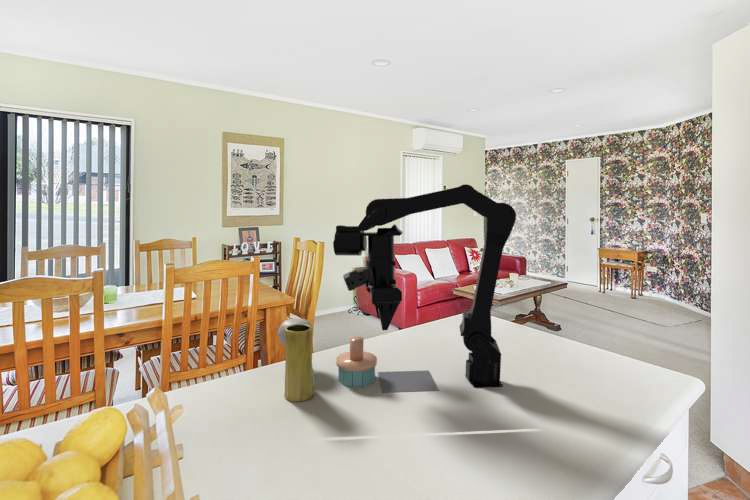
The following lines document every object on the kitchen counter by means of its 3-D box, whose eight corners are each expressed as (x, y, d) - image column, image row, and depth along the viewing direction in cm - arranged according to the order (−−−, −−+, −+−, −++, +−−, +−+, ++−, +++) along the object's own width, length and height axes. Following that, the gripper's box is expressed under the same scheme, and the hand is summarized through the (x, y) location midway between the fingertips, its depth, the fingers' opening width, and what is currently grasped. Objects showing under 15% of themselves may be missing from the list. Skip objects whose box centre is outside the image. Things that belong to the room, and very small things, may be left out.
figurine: (288, 361, 100) (287, 314, 99) (317, 363, 99) (316, 316, 97) (274, 374, 92) (272, 323, 91) (305, 377, 91) (304, 326, 89)
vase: (308, 403, 79) (307, 333, 77) (279, 400, 80) (277, 331, 79) (318, 389, 85) (317, 324, 83) (291, 386, 86) (290, 322, 85)
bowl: (373, 372, 94) (373, 355, 93) (376, 387, 86) (376, 369, 86) (338, 373, 93) (338, 356, 93) (338, 389, 85) (338, 371, 85)
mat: (428, 372, 94) (428, 370, 94) (439, 392, 84) (439, 390, 84) (377, 373, 93) (377, 372, 93) (382, 394, 83) (382, 392, 83)
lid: (375, 354, 94) (375, 331, 93) (378, 370, 85) (378, 345, 84) (336, 355, 93) (336, 332, 93) (336, 372, 84) (335, 346, 84)
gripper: (343, 251, 98) (345, 314, 100) (346, 263, 79) (348, 339, 81) (388, 250, 99) (389, 312, 101) (402, 261, 81) (402, 336, 82)
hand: (382, 323), depth 91 cm, fingers open, 9 cm apart
